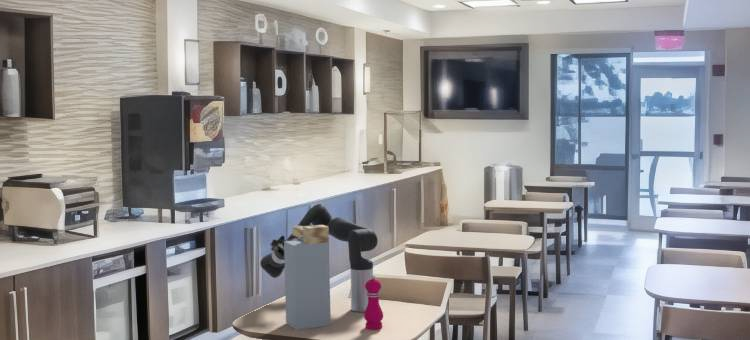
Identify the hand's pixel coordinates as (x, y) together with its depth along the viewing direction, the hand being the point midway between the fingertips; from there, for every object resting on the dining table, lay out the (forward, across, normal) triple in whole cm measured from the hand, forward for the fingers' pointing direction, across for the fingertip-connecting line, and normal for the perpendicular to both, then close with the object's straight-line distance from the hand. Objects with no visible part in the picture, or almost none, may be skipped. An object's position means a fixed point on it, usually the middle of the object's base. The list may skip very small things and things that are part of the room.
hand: (293, 236), depth 331 cm
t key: (+12, -1, -6) cm, 14 cm away
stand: (+2, +2, -37) cm, 37 cm away
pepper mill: (+16, -18, -46) cm, 51 cm away
